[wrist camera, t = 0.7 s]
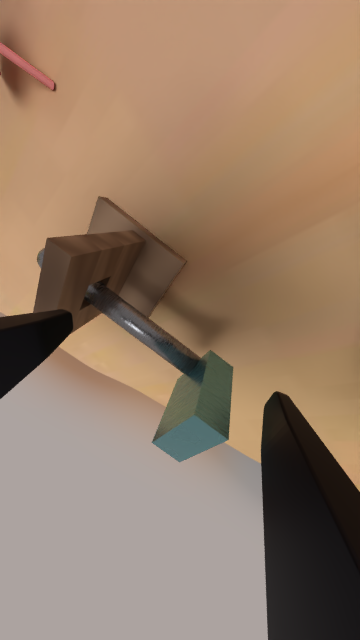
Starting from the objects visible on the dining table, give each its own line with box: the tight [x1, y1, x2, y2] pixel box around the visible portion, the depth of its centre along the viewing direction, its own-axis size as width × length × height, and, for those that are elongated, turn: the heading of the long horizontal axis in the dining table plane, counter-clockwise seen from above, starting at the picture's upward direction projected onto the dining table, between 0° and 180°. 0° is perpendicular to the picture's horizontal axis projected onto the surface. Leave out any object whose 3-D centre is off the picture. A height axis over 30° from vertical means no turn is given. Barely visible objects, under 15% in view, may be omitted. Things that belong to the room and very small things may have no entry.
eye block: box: [33, 197, 187, 334], centre depth 17 cm, size 10×10×10 cm
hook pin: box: [37, 248, 233, 462], centre depth 14 cm, size 18×5×7 cm, turn 55°
